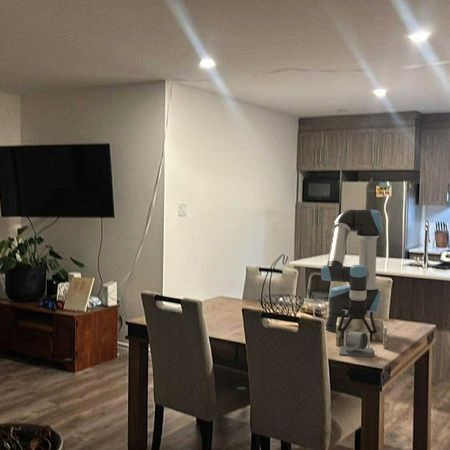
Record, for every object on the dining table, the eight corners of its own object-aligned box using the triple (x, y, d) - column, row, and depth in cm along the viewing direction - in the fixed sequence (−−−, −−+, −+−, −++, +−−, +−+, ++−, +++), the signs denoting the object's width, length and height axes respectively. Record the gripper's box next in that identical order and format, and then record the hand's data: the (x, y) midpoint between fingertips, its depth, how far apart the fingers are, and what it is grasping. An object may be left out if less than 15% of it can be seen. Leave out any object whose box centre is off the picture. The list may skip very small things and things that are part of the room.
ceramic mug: (352, 344, 267) (353, 328, 266) (368, 348, 261) (368, 331, 260) (340, 349, 259) (340, 332, 259) (356, 353, 253) (356, 336, 253)
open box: (335, 345, 273) (336, 324, 272) (337, 336, 290) (337, 317, 289) (386, 349, 268) (386, 328, 267) (384, 339, 284) (385, 320, 284)
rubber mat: (339, 355, 256) (339, 353, 256) (340, 347, 269) (340, 346, 269) (373, 357, 253) (373, 356, 253) (372, 350, 266) (372, 348, 266)
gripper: (332, 299, 259) (331, 347, 260) (383, 301, 253) (382, 350, 255) (333, 296, 266) (332, 342, 267) (383, 298, 261) (381, 346, 262)
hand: (356, 346), depth 261 cm, fingers closed on ceramic mug, 10 cm apart
